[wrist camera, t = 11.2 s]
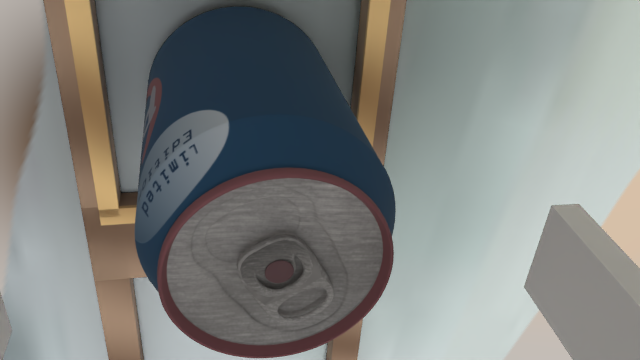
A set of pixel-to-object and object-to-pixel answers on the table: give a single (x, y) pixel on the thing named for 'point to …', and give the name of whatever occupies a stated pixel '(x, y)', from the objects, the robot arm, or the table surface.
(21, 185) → the table surface
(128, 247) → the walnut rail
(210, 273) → the soda can
